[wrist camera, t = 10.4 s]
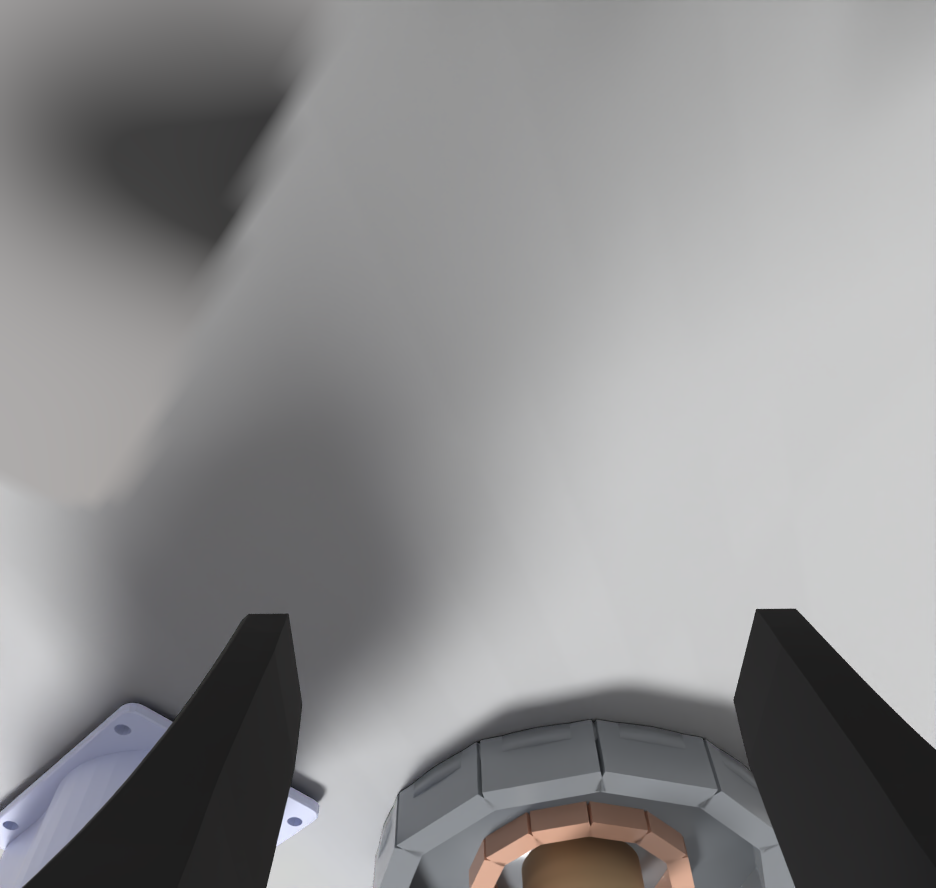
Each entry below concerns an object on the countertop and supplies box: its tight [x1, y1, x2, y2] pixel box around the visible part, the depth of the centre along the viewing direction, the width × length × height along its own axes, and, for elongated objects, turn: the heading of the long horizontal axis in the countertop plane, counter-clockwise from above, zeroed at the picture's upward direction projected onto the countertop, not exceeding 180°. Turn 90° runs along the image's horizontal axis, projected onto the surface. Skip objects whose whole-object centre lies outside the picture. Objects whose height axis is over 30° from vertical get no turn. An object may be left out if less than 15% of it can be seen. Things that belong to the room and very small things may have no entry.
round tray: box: [373, 719, 795, 888], centre depth 31 cm, size 15×15×2 cm
